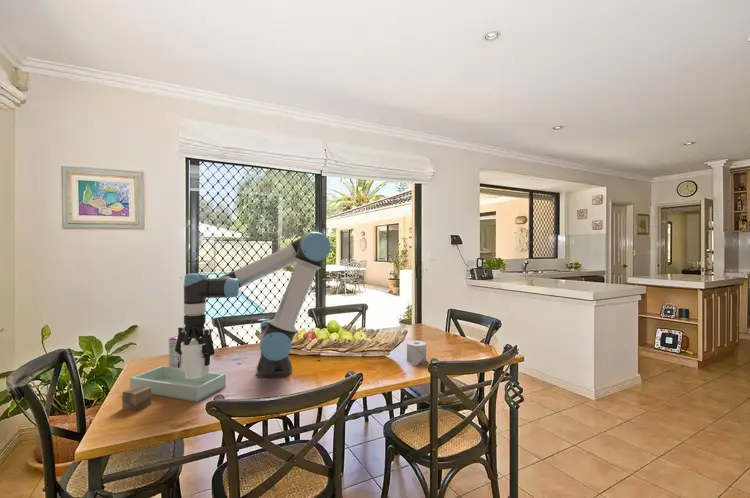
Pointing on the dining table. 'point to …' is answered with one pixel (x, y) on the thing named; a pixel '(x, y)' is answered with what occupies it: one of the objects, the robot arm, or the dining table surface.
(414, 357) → the toilet tissue
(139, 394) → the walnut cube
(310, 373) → the dining table surface
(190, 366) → the foam cup
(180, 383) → the tote
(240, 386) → the dining table surface
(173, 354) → the candy bar box
